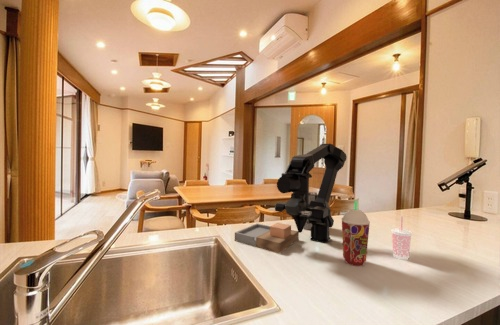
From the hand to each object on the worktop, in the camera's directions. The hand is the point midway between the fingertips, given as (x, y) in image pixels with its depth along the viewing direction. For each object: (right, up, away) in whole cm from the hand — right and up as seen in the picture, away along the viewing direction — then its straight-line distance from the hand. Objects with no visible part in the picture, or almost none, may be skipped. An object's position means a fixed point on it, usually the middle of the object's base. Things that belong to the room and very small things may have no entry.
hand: (300, 232), depth 90 cm
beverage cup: (+33, -7, -6) cm, 35 cm away
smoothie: (+15, -7, -11) cm, 20 cm away
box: (-16, -5, +11) cm, 20 cm away
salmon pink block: (-7, -2, +5) cm, 8 cm away
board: (-7, -6, +5) cm, 11 cm away
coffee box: (+10, -5, +27) cm, 29 cm away
